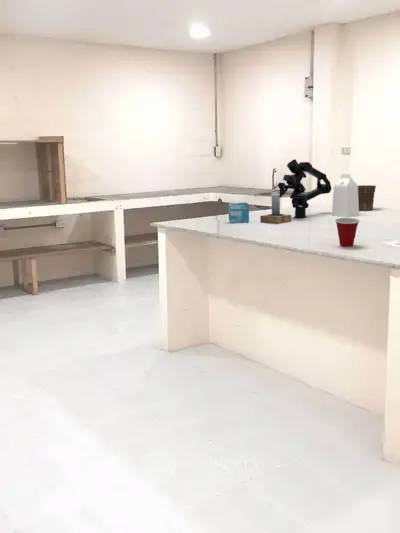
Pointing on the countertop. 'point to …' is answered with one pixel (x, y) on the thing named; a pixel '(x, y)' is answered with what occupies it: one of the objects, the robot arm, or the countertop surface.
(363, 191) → the plant pot
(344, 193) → the milk
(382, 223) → the countertop surface
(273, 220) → the stand
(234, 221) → the data package
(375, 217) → the countertop surface
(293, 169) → the robot arm
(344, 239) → the plastic cup
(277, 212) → the grey bottle
